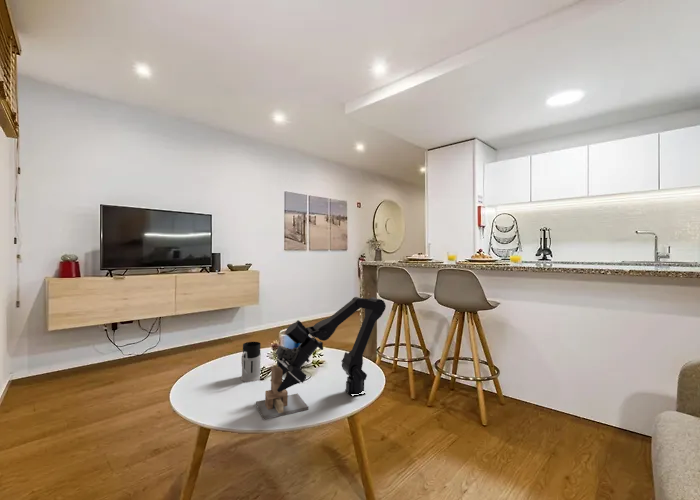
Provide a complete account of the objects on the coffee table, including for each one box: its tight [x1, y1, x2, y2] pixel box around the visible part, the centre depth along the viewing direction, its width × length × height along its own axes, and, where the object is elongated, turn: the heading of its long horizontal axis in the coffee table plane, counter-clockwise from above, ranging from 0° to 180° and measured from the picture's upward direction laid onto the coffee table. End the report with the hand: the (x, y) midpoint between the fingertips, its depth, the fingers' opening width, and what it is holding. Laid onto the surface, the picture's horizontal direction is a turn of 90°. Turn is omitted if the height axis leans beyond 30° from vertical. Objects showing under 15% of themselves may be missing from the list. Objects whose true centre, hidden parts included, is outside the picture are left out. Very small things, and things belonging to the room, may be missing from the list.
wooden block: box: [264, 366, 289, 410], centre depth 118 cm, size 7×4×13 cm, turn 118°
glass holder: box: [240, 341, 262, 383], centre depth 143 cm, size 9×14×15 cm, turn 174°
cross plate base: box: [255, 393, 309, 420], centre depth 119 cm, size 16×12×4 cm
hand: (274, 386), depth 118 cm, fingers open, 9 cm apart
